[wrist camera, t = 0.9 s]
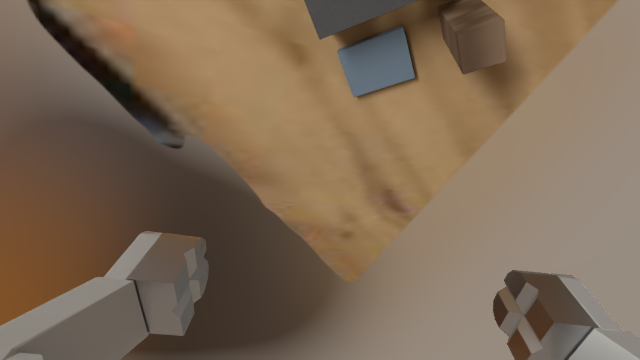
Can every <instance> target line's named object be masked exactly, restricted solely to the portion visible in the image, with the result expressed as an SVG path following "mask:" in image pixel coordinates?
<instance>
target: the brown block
mask: <svg viewBox="0 0 640 360" xmlns="http://www.w3.org/2000/svg"><path fill="white" fill-rule="evenodd" d="M438 9H439V15H440V21H441V27H442V33H443V39H444V41H445V43H446V44H447V46H448V48H449V50H450V52H451V53H452V55H453V57H454V59H455V61H456V62H457V64H458V66H459V68H460V70H461V72H462V73H463V74H467V73H470V72H473V71H476V70H480V69H483V68H486V67H489V66H493V65H496V64H499V63H502V62H506V61H507V58H506V40H505V21H504V19H503V18H502V17H501V16H499V15H498V14H497V13H496V12H495V11H493V10H492V9H491V8H490V7H488V6H487V5H486V4H485V3H484V2H482V1H481V0H455V1H453V2H450V3H448V4H445V5H443V6H440V7H438Z"/></svg>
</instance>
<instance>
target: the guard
mask: <svg viewBox="0 0 640 360" xmlns="http://www.w3.org/2000/svg"><path fill="white" fill-rule="evenodd" d="M304 1H305V3H306V6H307V8H308V11H309V14H310V16H311V19H312V21H313V24H314V27H315V29H316V32H317V34H318V37H319V39H323V38H325V37H328V36H330V35H333V34H335V33H338V32H340V31H343V30H345V29H348V28H350V27H353V26H355V25H357V24H360V23H362V22H365V21H367V20H370V19H372V18H375V17H377V16H380V15H382V14H385V13H387V12H390V11H392V10H395V9H397V8H400V7H402V6H405V5H407V4H410V3H412V2H415V1H417V0H304Z"/></svg>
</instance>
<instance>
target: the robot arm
mask: <svg viewBox="0 0 640 360" xmlns="http://www.w3.org/2000/svg"><path fill="white" fill-rule="evenodd" d="M205 251H206V244H205V240H204V239H203V238H198V237H191V236H183V235H176V234H168V233H165V234H164V233H156V232H149V231H145V232H143V233H141V234H140V235H139V236H138V237H137V238H136V239H135V241H134V242H133V243H132V244H131V245H130V247H129V248H128V249H127V250H126V251H125V253H124V254H123V255H122V256H121V257H120V258H119V260H118V261H117V262H116V263H115V264H114V266H113V267H112V268H111V269H110V270H109V271H108V273H107V274H106V275H105V276H104V277H96V278H94V279H92V280H90V281H88V282H87V283H84V284H82V285H80V286H78V287H76V288H74V289H72V290H71V291H68V292H66V293H64V294H63V295H61V296H59V297H57V298H55V299H53V300H51V301H49V302H47V303H45V304H43V305H41V306H39V307H37V308H35V309H33V310H31V311H29V312H27V313H25V314H23V315H21V316H19V317H17V318H15V319H13V320H11V321H9V322H7V323H5V324H3V325H1V326H0V360H120V359H121V358H122V357H123V356H124V355H126V354H127V353H128V352H129V351H130V350H132V349H133V348H134V347H135V346H136V345H137V344H139V343H140V342H141V341H142V340H143V339H145V338H146V337H147V336H148V333H153V334H167V335H180V336H183V335H184V334H185V331H186V329H187V327H188V325H189V323H190V320H191V318H192V316H193V314H194V306H193V303H194V302H195V301H197V300H198V299H199V298H201V296H202V294H203V292H204V290H205V286H206V282H207V278H208V262H207V261H206V260H205V259H204V258H203V255H204V253H205ZM504 282H505V284H506V287H505V288H503V289H502V290H500V291H498V292H497V294H496V296H495V298H494V301H493V313H494V317H495V320H496V322H497V324H498V327H499V328H500V329H501V330H502V331H503V332H504V333H506V334H507V335H508V336H509V339H508V342H507V345H508V347H509V349H510V351H511V353H512V355H513V356H514V359H515V360H640V338H639V337H637V336H636V335H634V334H632V333H631V332H628V331H623V330H622V329H621V328H620V327H619V325H618V324H617V323H616V322H615V321H614V320H613V319H612V318H611V316H610V315H609V314H608V313H607V312H606V311H605V309H603V307H602V306H601V305H600V304H599V303H598V301H597V300H596V299H595V298H594V297H593V296H592V295H591V293H590V292H589V291H588V290H587V289H586V288H585V287H584V285H583V284H582V283H581V282H580V281H579V280H578V279H577V278H575V277H573V276H572V275H562V274H548V273H538V272H528V271H517V270H512V271H511V272H509V273H508V274H507V276H506V277H505V279H504Z"/></svg>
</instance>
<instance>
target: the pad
mask: <svg viewBox="0 0 640 360" xmlns="http://www.w3.org/2000/svg"><path fill="white" fill-rule="evenodd" d="M337 53H338V55H339V58H340V61H341V64H342V66H343V69H344V72H345V75H346V77H347V80H348V83H349V86H350V88H351V91H352V94H353V97H356V96H359V95H363V94H366V93H369V92H372V91H375V90H378V89H381V88H384V87H387V86H391V85H394V84H397V83H400V82H403V81H406V80H409V79H412V78H415V75H414V71H413V67H412V62H411V58H410V54H409V49H408V45H407V41H406V37H405V32H404V28H403V25H402V26H399V27H397V28H394V29H391V30H389V31H386V32H384V33H381V34H378V35H376V36H373V37H370V38H368V39H365V40H363V41H360V42H357V43H355V44H352V45H349V46H347V47H344V48H342V49H339V50H338V52H337Z"/></svg>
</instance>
